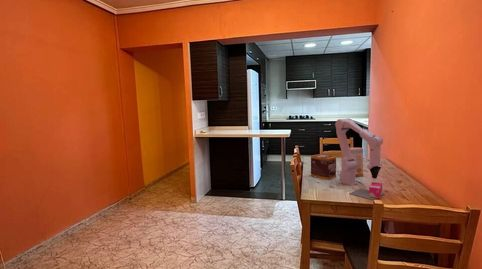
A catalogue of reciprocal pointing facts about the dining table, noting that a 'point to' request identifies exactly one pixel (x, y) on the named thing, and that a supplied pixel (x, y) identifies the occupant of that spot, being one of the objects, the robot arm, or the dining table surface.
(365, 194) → the mat
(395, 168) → the dining table surface
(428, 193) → the dining table surface
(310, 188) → the dining table surface
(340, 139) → the robot arm
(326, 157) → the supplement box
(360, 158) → the cracker box
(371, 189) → the supplement box
